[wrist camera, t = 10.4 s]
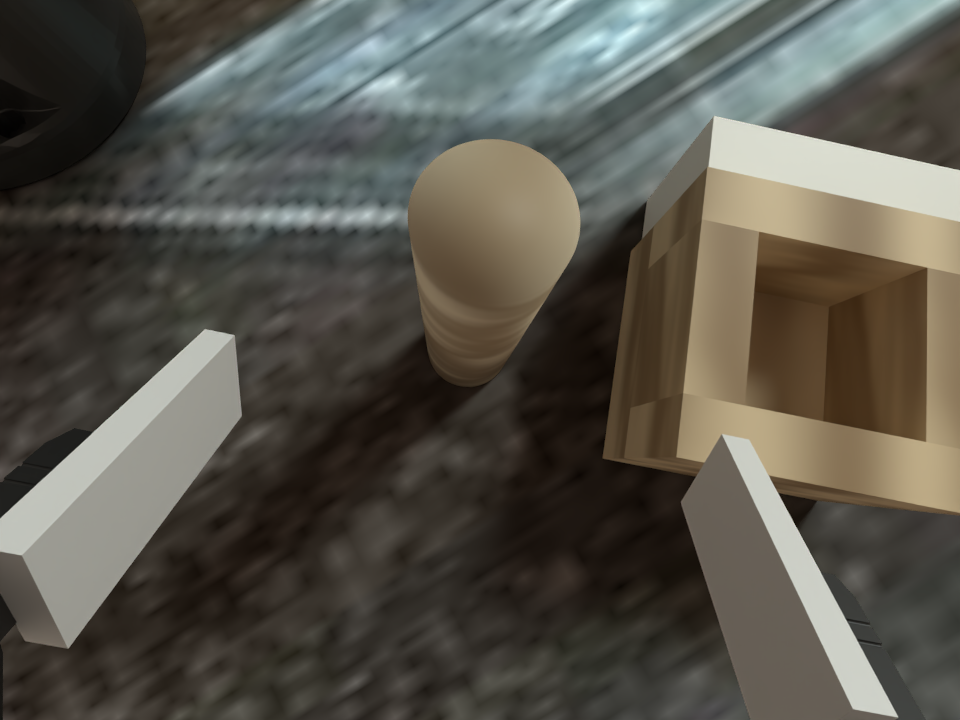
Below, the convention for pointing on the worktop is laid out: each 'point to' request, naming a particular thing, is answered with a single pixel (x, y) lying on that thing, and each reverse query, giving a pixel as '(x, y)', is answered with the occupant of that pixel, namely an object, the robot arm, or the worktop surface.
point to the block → (795, 343)
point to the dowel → (487, 251)
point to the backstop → (809, 170)
